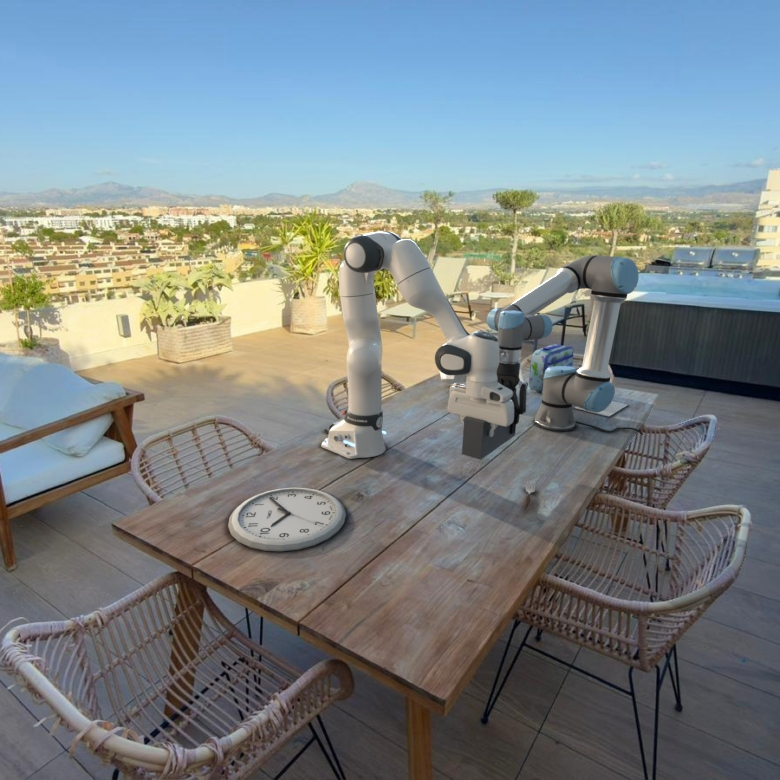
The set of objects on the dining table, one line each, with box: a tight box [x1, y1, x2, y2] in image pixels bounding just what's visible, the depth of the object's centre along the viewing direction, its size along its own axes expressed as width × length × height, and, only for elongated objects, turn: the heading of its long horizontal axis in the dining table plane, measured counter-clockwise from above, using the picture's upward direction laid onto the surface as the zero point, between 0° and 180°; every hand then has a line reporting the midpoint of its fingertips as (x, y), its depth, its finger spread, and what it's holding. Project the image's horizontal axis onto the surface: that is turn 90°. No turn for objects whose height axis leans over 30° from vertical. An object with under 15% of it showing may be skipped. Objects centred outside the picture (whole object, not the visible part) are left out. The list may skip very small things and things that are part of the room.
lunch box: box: [528, 344, 574, 393], centre depth 247 cm, size 26×11×21 cm, turn 134°
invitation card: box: [573, 400, 629, 418], centre depth 226 cm, size 21×1×15 cm
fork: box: [525, 478, 537, 511], centre depth 148 cm, size 3×16×2 cm, turn 160°
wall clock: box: [227, 487, 347, 552], centre depth 136 cm, size 30×2×30 cm
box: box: [461, 416, 517, 461], centre depth 162 cm, size 24×6×12 cm, turn 143°
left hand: (478, 433), depth 155 cm, fingers closed on box, 6 cm apart
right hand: (502, 429), depth 170 cm, fingers closed on box, 6 cm apart
